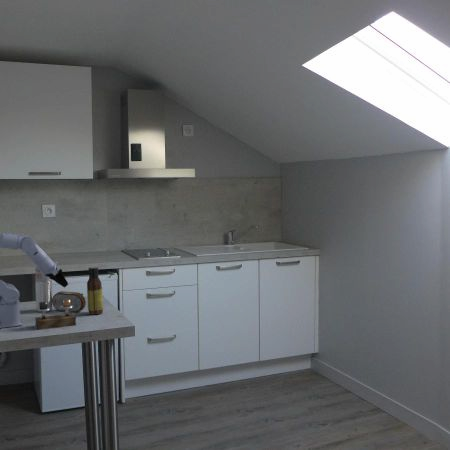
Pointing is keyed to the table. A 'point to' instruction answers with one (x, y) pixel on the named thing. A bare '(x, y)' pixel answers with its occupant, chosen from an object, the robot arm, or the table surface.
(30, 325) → the table surface
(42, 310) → the chrome threaded knob
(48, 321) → the stand
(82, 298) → the tin
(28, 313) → the table surface
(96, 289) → the sauce bottle
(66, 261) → the table surface
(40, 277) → the water bottle
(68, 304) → the copper plunger
